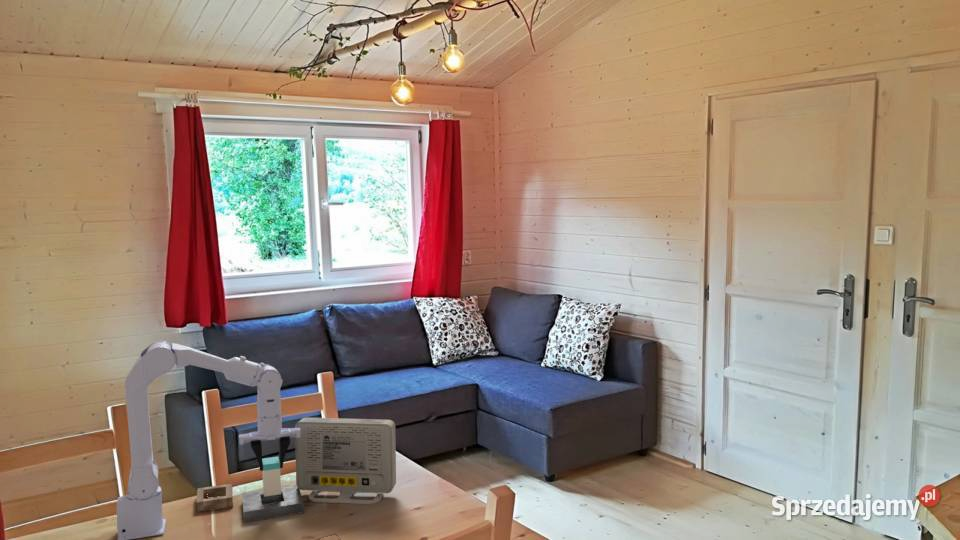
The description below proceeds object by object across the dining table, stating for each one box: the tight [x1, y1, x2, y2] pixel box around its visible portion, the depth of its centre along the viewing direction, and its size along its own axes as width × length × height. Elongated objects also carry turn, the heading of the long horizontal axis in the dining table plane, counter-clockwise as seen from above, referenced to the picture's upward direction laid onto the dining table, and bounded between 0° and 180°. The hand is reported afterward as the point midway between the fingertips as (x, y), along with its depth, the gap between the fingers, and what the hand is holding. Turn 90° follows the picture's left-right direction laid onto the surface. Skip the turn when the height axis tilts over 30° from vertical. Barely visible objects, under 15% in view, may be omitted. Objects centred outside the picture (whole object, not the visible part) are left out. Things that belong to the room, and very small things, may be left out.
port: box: [241, 485, 305, 523], centre depth 171 cm, size 14×12×2 cm
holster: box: [196, 483, 234, 513], centre depth 175 cm, size 8×9×2 cm
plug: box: [261, 456, 282, 497], centre depth 171 cm, size 4×5×8 cm
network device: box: [294, 417, 397, 505], centre depth 177 cm, size 26×9×20 cm, turn 84°
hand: (271, 468), depth 171 cm, fingers closed on plug, 4 cm apart
